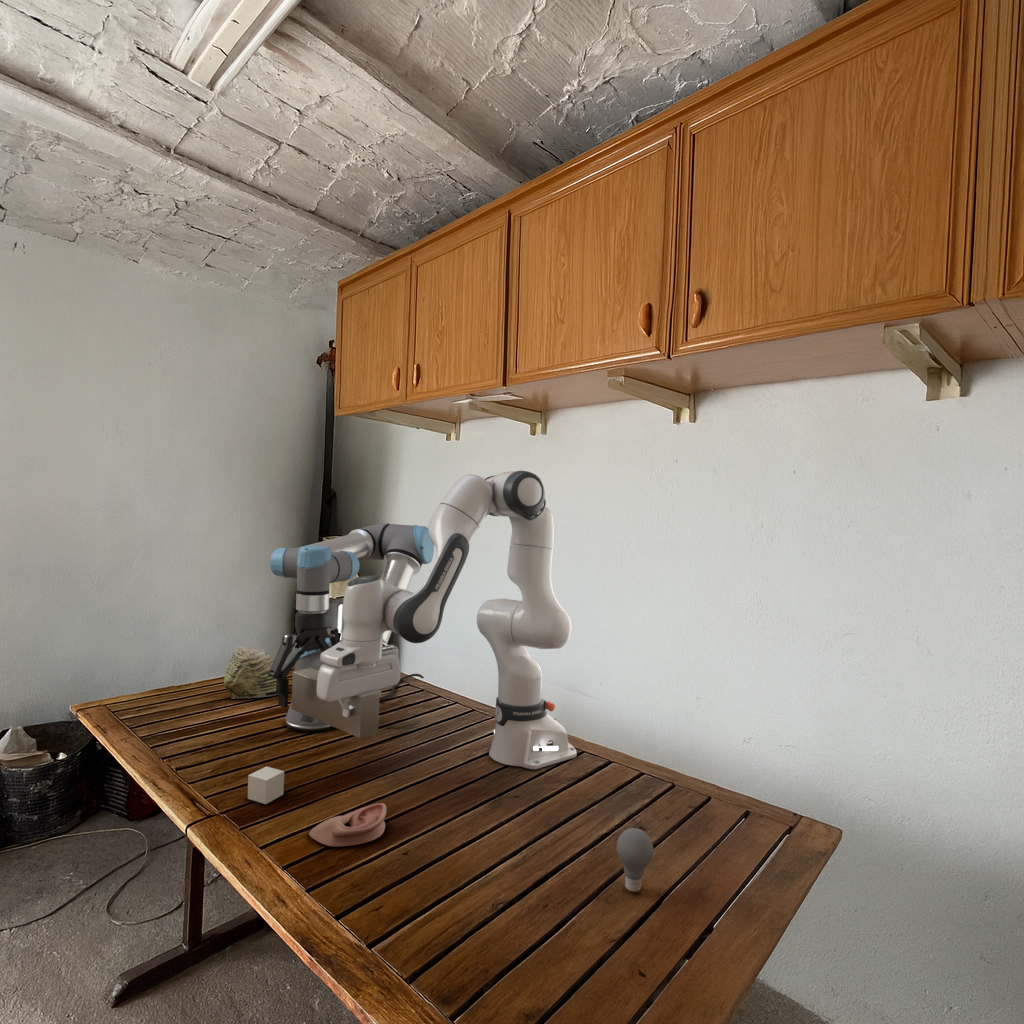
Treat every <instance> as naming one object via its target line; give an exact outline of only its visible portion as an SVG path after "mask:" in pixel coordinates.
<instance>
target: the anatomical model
mask: <svg viewBox="0 0 1024 1024" xmlns="http://www.w3.org/2000/svg"><path fill="white" fill-rule="evenodd" d="M386 816H387V805H386V804H385V803H383V802H378V803H373V804H370V805H368V806H364V807H360V808H358V809H355V810H353V811H351V812H348V813H346V814H344V815H343V814H342V815H337V816H333V817H331V818H328V819H326V820H323V821H322V822H320V823H318V824H317V825H315V826H314V827H313V828H311V830H309V832H308V835H309V837H310V838H311V839H313V840H315V841H316V842H318V843H319V844H321V845H325V846H327V847H333V848H335V847H348V846H349V847H350V846H357V845H361V844H365V843H368V842H372V841H374V840H376V839H378V838H380V837H381V836H382V835H383V834H384V832H385V829H386V822H385V819H386Z"/></svg>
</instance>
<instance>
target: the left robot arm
mask: <svg viewBox="0 0 1024 1024" xmlns="http://www.w3.org/2000/svg"><path fill="white" fill-rule="evenodd" d="M434 553H435V545H434V544H433V543H432V541H431V539H430V536H429V532H428V526H424V525H418V524H414V525H412V524H398V523H397V524H396V523H377V524H372V525H367V526H364V527H360V528H356V529H353V530H351V531H350V532H349V533H348V534H346V535H342V536H339V537H335V538H331V539H327V540H323V541H319V542H315V543H311V544H308V545H303V546H299V547H294V548H291V547H279V548H276V549H275V550H274V551H273V552H272V553H271V555H270V559H269V568H270V570H271V573H272V574H273V575H275V576H277V577H283V578H285V579H287V578H291V579H296V592H295V593H296V595H295V610H296V612H295V614H294V615H295V618H294V620H295V621H294V627H295V633H294V634H287V633H284V634H283V635H282V638H281V645H280V646H279V648H278V651H277V653H276V656H275V658H274V659H273V660H274V662H273V664H272V666H271V668H270V671H269V673H268V675H269V676H270V677H273V678H276V692H277V693H279V694H278V703H277V705H278V706H279V707H282V708H284V709H287V708H288V707H289V708H288V710H287V711H286V712H285V726H286V728H287V729H289V730H291V731H294V732H295V731H296V732H301V733H316V732H325V731H329V730H332V729H336V728H335V727H333V726H330V725H328V724H326V723H323V722H321V721H319V720H316V719H314V718H312V717H309V716H307V715H305V714H302V713H300V712H298V711H295V710H293V709H291V706H292V701H291V702H290V704H289V688H290V687H289V685H290V678H287V677H288V675H289V674H290V672H291V671H292V669H293V668H294V670H293V671H298V670H303V669H308V668H313V669H316V670H318V671H319V669H320V667H321V666H322V665H323V664H324V663H323V662H321V660H320V655H321V653H322V652H324V651H325V650H327V649H329V648H331V647H333V646H334V645H336V644H337V643H339V642H341V641H342V640H341V639H340V634H339V633H340V632H339V629H338V628H336V627H332V626H329V615H330V614H329V612H328V610H329V609H330V586H331V585H330V584H333V583H340V582H346V581H349V580H353V579H354V578H356V576H357V575H358V573H359V571H360V561H364V560H376V561H377V560H379V561H383V563H384V565H385V567H384V569H383V571H382V574H381V576H380V577H381V578H382V579H383V580H384V581H386V582H387V583H389V584H391V585H393V586H395V587H398V588H401V589H404V590H407V591H408V589H409V586H410V584H411V581H412V578H413V576H414V575H416V574H417V575H418V573H420V571H421V569H422V566H423V565H429V564H430V563H431V562H432V561H433V558H434ZM328 626H329V627H328ZM327 628H328V629H327ZM391 635H392V631H385V632H384V633H383V646H388V645H389V644H388V642H389V640H390V638H391ZM412 677H419V678H420V679H424V678H425V677H424V676H423V675H422V674H421V673H411V674H408V675H405V676H403V677H400V680H399V682H403V681H404V680H406V679H409V678H412ZM396 687H397V685H394V686H392V687H391V690H390V692H389V693H388V694H386V695H383V696H380V697H379V702H380V701H383V700H385V699H387V698H390V697H391V696H392V695H393V694H394V693H395V692H394V691H395V689H396Z"/></svg>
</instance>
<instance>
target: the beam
mask: <svg viewBox="0 0 1024 1024" xmlns="http://www.w3.org/2000/svg"><path fill="white" fill-rule="evenodd" d="M318 672H319V671H318V670H316V669H313V668H308V669H303V670H298V671H294V670H293V671H292V677H291V678H292V680H291V702H292V706H291V709H293V710H295V711H298V712H300V713H302V714H305V715H307V716H309V717H312V718H314V719H316V720H319V721H321V722H323V723H326V724H328V725H330V726H333V727H335V728H334V729H337V730H339V731H342V732H344V733H347V734H349V735H350V736H353V737H356V738H358V739H363V738H364V737H368V736H371V735H374V734H376V733H379V717H380V716H379V715H380V701H379V698H380V697H379V694H380V692H379V691H376V690H372V691H368V692H364V693H360V694H357V695H356V696H352V697H350V701H349V702H347V703H348V705H349V707H350V708H353V716H350V717H347V718H346V717H344V716H343V708H342V707H341V705H340V703H339V701H338V700H337V701H333V702H329V703H328V702H325V701H322V700H320V699H319V698H318V696H317V679H318Z"/></svg>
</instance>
